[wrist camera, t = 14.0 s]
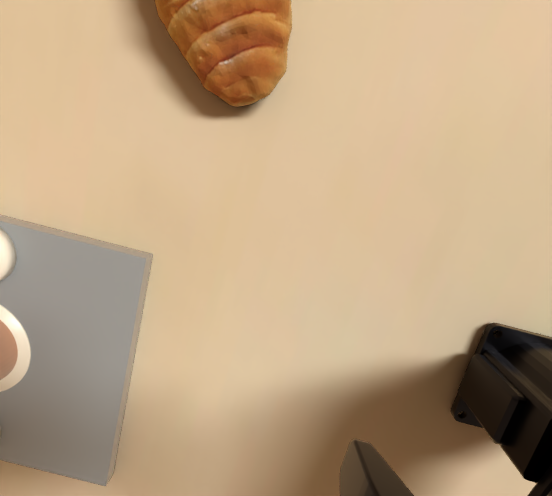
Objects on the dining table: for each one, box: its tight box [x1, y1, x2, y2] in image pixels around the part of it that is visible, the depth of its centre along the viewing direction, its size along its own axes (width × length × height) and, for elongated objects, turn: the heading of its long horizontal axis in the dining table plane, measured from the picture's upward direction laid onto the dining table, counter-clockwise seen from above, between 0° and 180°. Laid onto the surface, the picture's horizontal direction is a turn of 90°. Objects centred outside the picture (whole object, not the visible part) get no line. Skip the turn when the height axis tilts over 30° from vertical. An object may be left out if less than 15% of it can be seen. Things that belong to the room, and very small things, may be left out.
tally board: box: [0, 215, 153, 486], centre depth 22 cm, size 14×16×2 cm
